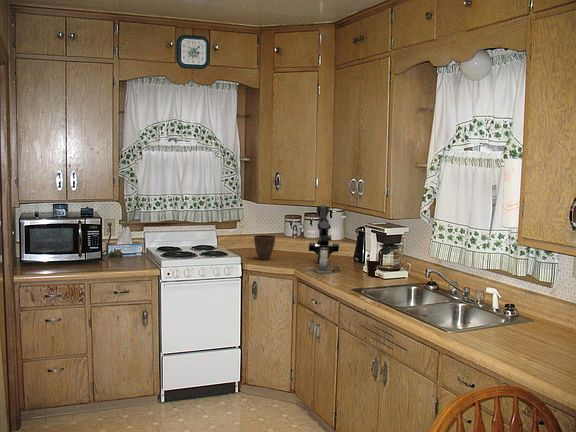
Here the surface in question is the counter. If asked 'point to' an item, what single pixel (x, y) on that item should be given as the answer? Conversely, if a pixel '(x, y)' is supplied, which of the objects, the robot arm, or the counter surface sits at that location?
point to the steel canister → (323, 258)
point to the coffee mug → (372, 267)
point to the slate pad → (323, 271)
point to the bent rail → (336, 268)
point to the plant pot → (264, 246)
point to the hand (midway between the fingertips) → (323, 258)
